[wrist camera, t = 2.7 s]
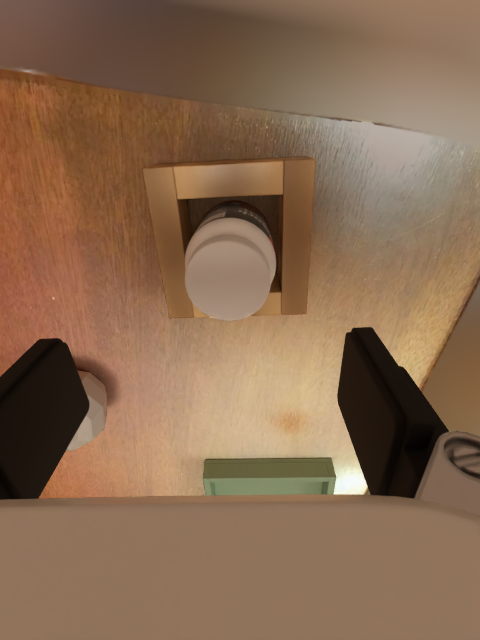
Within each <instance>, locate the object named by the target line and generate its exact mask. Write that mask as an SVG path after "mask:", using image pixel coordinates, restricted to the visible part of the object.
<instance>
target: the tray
mask: <svg viewBox="0 0 480 640" xmlns="http://www.w3.org/2000/svg"><path fill="white" fill-rule="evenodd" d="M335 481H336V475H335V471H334V467H333V463H332V460H331V458H297V459H218V460H205V465H204V473H203V483H204V489H205V495H206V496H207V495H293V494H321V495H333V493H334V487H335Z"/></svg>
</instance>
